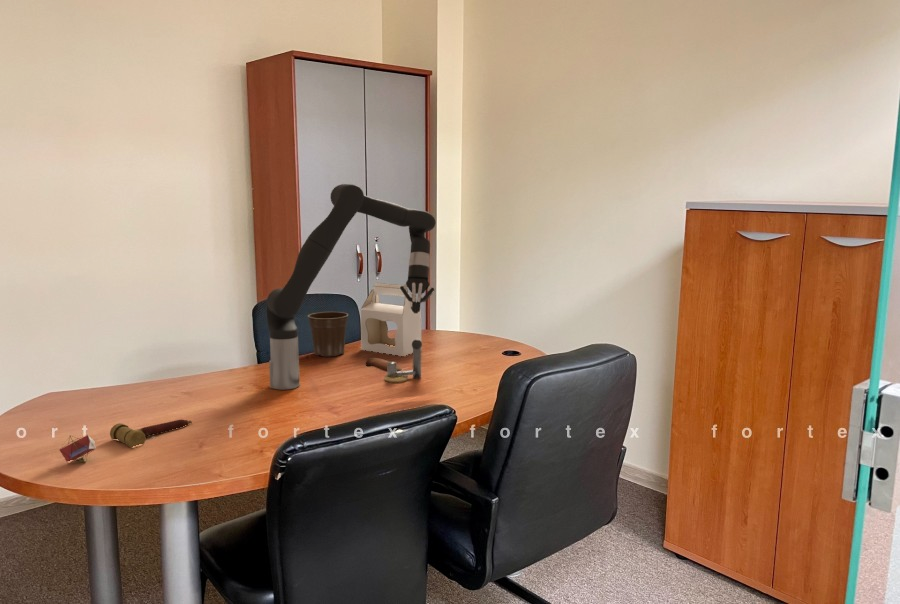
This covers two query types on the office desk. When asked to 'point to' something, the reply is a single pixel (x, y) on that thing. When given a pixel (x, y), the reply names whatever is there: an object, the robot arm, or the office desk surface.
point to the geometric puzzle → (78, 448)
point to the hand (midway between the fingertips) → (415, 313)
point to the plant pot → (328, 332)
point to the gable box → (379, 313)
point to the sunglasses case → (379, 363)
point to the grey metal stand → (402, 376)
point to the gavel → (142, 431)
